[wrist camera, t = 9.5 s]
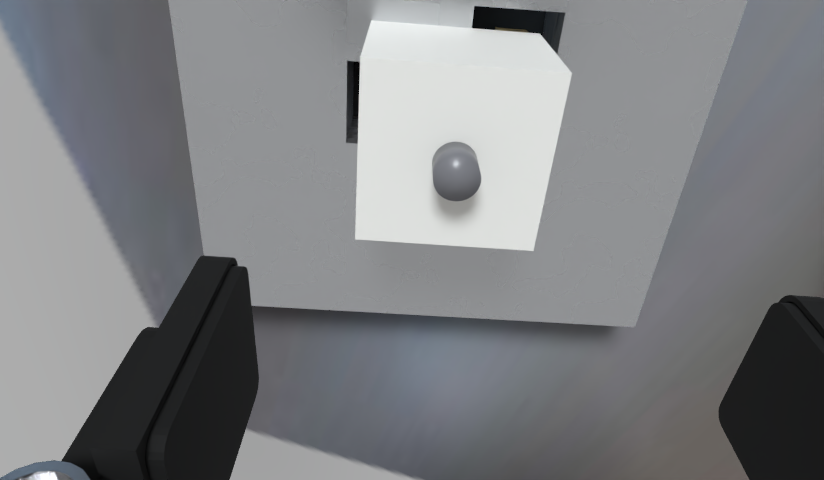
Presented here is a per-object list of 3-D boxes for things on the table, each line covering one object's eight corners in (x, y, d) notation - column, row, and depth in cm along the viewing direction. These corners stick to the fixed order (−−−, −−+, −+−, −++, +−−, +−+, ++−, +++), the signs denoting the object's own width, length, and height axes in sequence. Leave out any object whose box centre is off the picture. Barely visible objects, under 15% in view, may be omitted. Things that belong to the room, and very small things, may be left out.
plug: (532, 24, 22) (582, 85, 16) (507, 169, 25) (539, 271, 19) (373, 12, 22) (356, 68, 15) (368, 159, 25) (351, 259, 19)
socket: (763, -183, 20) (830, -195, 17) (616, 289, 30) (640, 338, 27) (170, -234, 19) (121, -256, 16) (228, 266, 30) (205, 314, 27)
